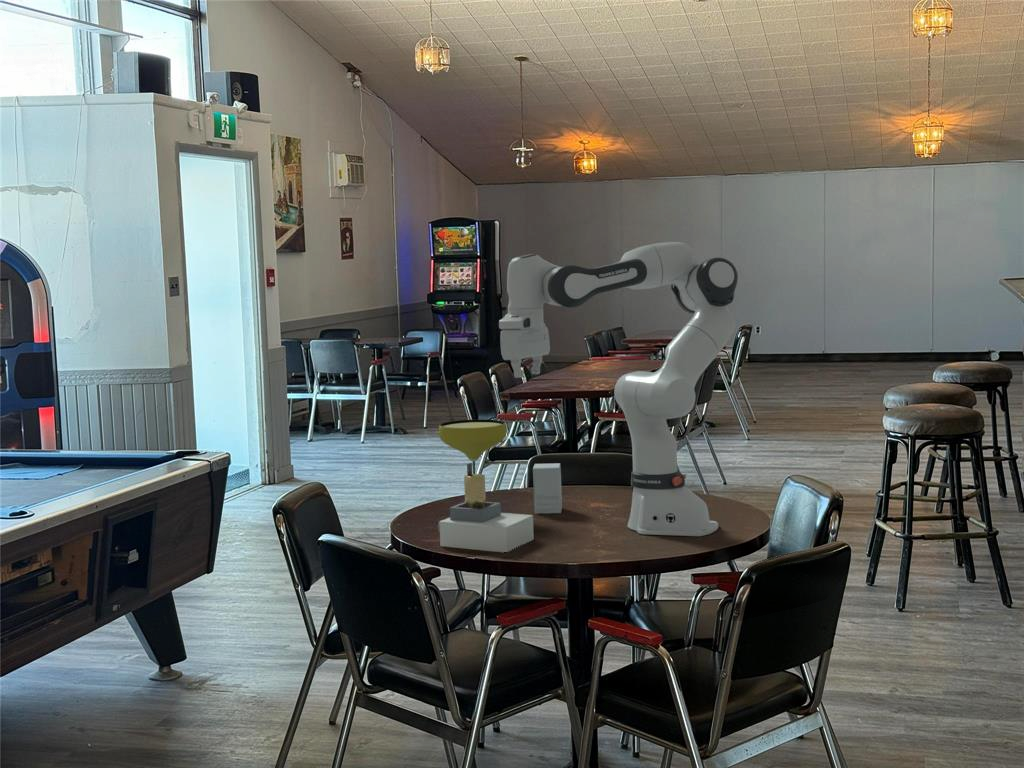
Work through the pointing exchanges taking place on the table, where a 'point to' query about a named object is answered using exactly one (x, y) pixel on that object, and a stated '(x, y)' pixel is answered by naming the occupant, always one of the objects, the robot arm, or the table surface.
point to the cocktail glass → (472, 436)
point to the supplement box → (547, 488)
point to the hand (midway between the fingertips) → (527, 375)
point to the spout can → (474, 489)
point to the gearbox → (485, 528)
